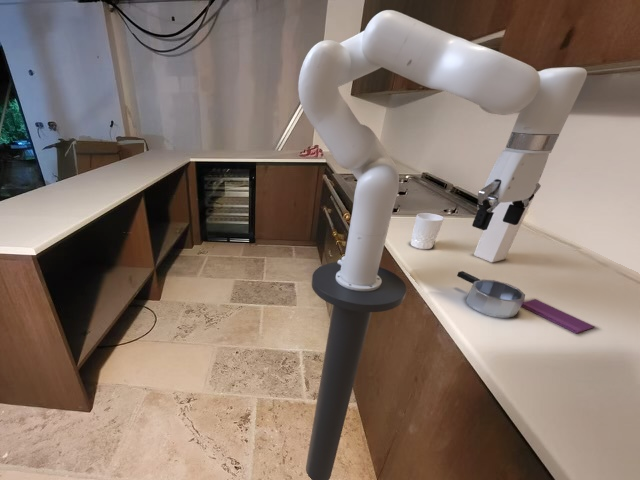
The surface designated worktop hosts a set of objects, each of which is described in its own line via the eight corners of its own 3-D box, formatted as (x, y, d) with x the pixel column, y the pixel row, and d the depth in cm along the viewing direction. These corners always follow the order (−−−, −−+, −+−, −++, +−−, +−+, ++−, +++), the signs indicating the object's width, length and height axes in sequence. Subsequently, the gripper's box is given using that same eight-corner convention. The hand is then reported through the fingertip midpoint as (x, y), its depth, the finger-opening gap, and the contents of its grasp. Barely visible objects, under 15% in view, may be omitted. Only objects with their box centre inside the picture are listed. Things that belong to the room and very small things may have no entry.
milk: (485, 252, 104) (516, 181, 92) (505, 259, 99) (539, 185, 87) (472, 255, 102) (502, 183, 90) (492, 262, 97) (525, 187, 85)
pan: (440, 290, 84) (445, 274, 81) (468, 283, 87) (474, 268, 84) (495, 321, 72) (504, 304, 69) (526, 312, 75) (536, 295, 72)
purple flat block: (517, 304, 77) (518, 302, 77) (534, 300, 79) (535, 298, 79) (576, 333, 68) (577, 331, 68) (594, 327, 70) (595, 325, 69)
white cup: (406, 246, 108) (414, 217, 103) (411, 239, 114) (419, 211, 108) (432, 251, 104) (442, 222, 99) (435, 244, 110) (445, 215, 105)
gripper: (539, 139, 70) (505, 216, 79) (481, 143, 65) (452, 224, 74) (580, 143, 64) (537, 226, 73) (519, 147, 59) (482, 236, 68)
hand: (494, 225), depth 74 cm, fingers open, 9 cm apart
